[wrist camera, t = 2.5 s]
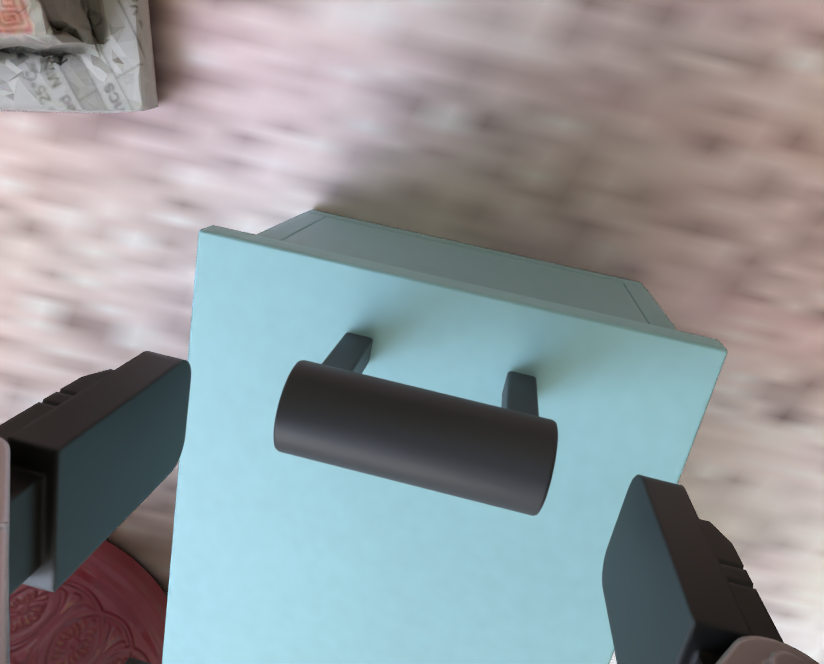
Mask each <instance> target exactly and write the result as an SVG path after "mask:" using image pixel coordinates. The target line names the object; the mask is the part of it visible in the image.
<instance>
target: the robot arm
mask: <svg viewBox="0 0 824 664" xmlns="http://www.w3.org/2000/svg"><path fill="white" fill-rule="evenodd" d="M190 384H191V366H190V364H189V362H188V361H186V360H182V359H178V358H174V357H170V356H166V355H162V354H158V353H154V352H150V351H145V352H143V353H141V354H140V355H138V356H136V357H135V358H133V359H132V360H130V361H128V362H127V363H125V364H124V365H122V366H120V367H119V368H117V369H116V370H112V369H109V370H105V371H102V372H98V373H94V374H91V375H87V376H83V377H81V378H79V379H77V380H76V381H74V382H72V383H71V384H69V385H67V386H65V387H64V388H62V389H61V390H60V393H59V392H55V393H54V394H52V395H50V396H49V397H47V398H45V399H43V402H42V403H40V402H38V403H37V404H35V405H33V406H32V407H30V408H28V409H27V410H25V411H23V412H22V413H20V414H18V415H16V416H15V417H13V418H11V419H10V420H8V421H6V422H5V423H3V424H1V425H0V664H9V650H10V595H11V594H12V593H13V592H14V591H15V590H16V589H17V588H18V587H19V586H20V585H21V584H25V585H28V586H32V587H35V588H39V589H43V590H46V591H50V592H53V593H54V592H55V591H56V590H57V589H58V588H59V587H60V586H61V585H62V584H63V583H64V582H65V581H66V580H67V579H68V578H69V577H70V576H71V575H72V574H73V573H74V572H75V571H76V569H77V568H78V567H79V566H80V565H81V564H82V563H83V562H84V561H85V560H86V559H87V558H88V557H89V556H90V555H91V554H92V553H93V552H94V551H95V550H96V549H97V548H98V547H99V546H100V545H101V544H102V543H103V542H104V541H105V540H106V539H107V538H108V537H109V536H110V535H111V534H112V533H113V532H114V530H115V529H116V528H117V527H118V526H119V525H120V524H121V523H122V522H123V521H124V520H125V519H126V518H127V517H128V516H129V515H130V514H131V513H132V512H133V511H134V510H135V509H136V508H137V507H138V506H139V505H140V504H141V503H142V502H143V501H144V500H145V499H146V498H147V497H148V496H149V495H150V494H151V492H152V491H153V490H154V489H155V488H156V487H157V486H158V485H159V484H160V483H161V482H162V481H163V480H164V479H165V478H166V477H167V476H168V475H169V474H170V473H171V472H172V470H173V469H174V468H175V466H176V464H177V462H178V460H179V458H180V456H181V453H182V450H183V446H184V442H185V434H186V424H187V414H188V404H189V394H190ZM743 567H744V565H743V564H742V562H741V560H740V558H739V556H738V554H737V552H736V550H735V548H734V546H733V544H732V543H731V542H730V541H729V540H728V539H727V538H726V537H725V536H724V535H723V534H722V533H721V532H720V531H719V530H718V529H717V528H716V527H715V526H714V525H713V524H712V523H711V522H709V521H705V520H701V519H699V518H698V516H697V514H696V511H695V509H694V507H693V505H692V503H691V501H690V499H689V496H688V494H687V492H686V490H685V488H684V487H683V486H682V485H679V484H675V483H671V482H667V481H663V480H659V479H655V478H651V477H647V476H643V475H639V474H638V475H636V476H635V477H634V478H633V479H632V481H631V483H630V485H629V488H628V490H627V493H626V496H625V499H624V502H623V504H622V507H621V510H620V513H619V516H618V518H617V521H616V524H615V527H614V530H613V532H612V535H611V538H610V541H609V544H608V546H607V550H606V553H605V557H604V562H603V569H602V588H603V593H604V598H605V603H606V609H607V614H608V619H609V624H610V629H611V634H612V640H613V645H614V650H615V655H616V660H617V664H819V663H818V662H816V661H815V660H813V659H812V658H810V657H809V656H808V655H806V654H804V653H803V652H801V651H799V650H797V649H795V648H793V647H791V646H789V645H787V644H785V643H784V642H783V640H782V638H781V636H780V635H779V633H778V631H777V629H776V627H775V625H774V623H773V621H772V619H771V617H770V615H769V613H768V612H767V610H766V608H765V606H764V604H763V602H762V600H761V598H760V596H759V594H758V592H757V590H756V589H753V583H752V581H751V579H750V577H749V575H748V573H747V571H746V570H743ZM125 664H152V663H148V662H145V661H141V660H138V659H134V658H131V657H129V658H128V660H127V661H126V662H125Z"/></svg>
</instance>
